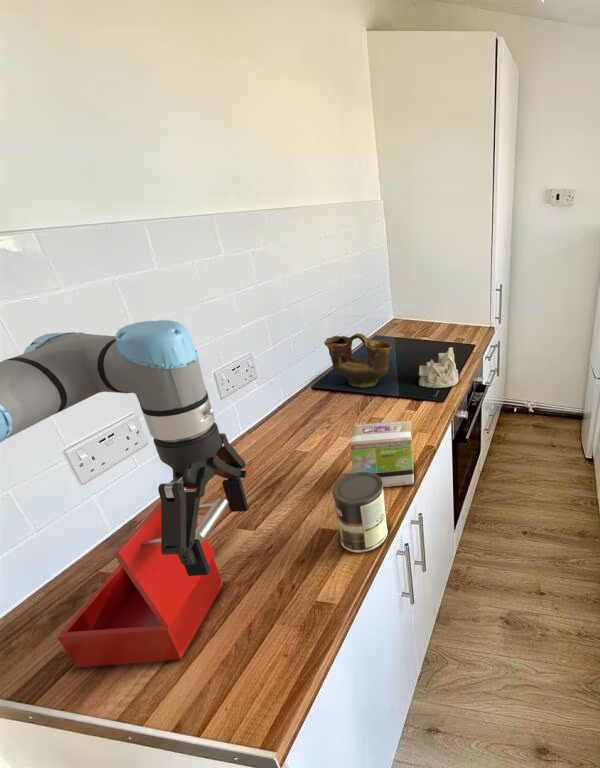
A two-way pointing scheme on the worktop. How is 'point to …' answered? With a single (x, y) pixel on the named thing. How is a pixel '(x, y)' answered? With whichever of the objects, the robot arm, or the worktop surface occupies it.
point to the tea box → (384, 451)
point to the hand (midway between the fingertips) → (221, 539)
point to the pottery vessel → (357, 369)
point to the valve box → (134, 624)
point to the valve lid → (164, 562)
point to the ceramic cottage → (439, 371)
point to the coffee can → (360, 511)
